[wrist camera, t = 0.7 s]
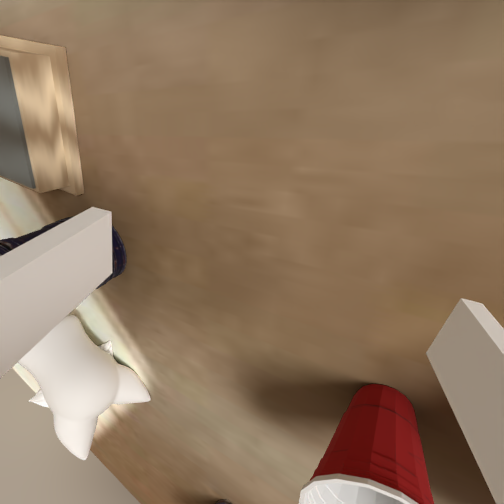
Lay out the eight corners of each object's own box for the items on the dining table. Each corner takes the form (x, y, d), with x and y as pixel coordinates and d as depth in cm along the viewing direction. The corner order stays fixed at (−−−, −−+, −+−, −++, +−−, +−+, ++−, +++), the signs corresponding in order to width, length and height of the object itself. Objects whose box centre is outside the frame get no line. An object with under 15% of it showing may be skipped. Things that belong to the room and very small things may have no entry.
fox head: (18, 366, 58) (85, 454, 56) (-13, 356, 43) (75, 473, 42) (87, 319, 65) (149, 396, 63) (79, 298, 51) (158, 396, 49)
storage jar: (87, 196, 41) (-55, 237, 29) (137, 253, 41) (16, 319, 29) (67, 238, 47) (-58, 287, 35) (111, 288, 47) (1, 354, 35)
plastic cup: (415, 461, 34) (410, 606, 24) (321, 408, 37) (283, 518, 28) (471, 403, 28) (493, 561, 19) (354, 346, 32) (322, 456, 22)
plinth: (-27, 29, 38) (-86, 21, 34) (65, 47, 33) (10, 39, 28) (6, 162, 46) (-38, 169, 42) (84, 193, 41) (43, 204, 36)
